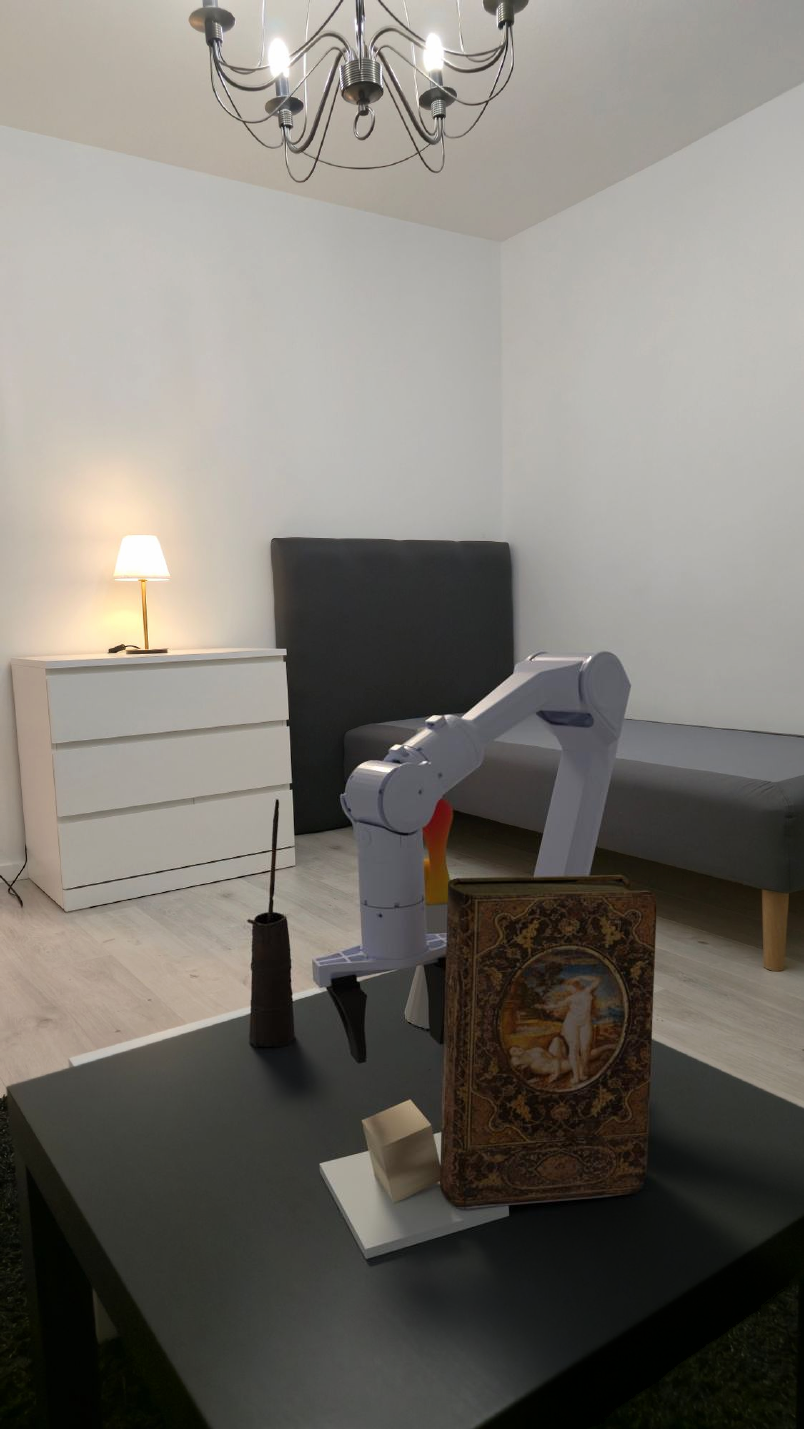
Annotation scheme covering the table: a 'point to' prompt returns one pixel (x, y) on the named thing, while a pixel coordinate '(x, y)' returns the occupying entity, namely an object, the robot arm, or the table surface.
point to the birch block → (402, 1150)
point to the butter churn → (271, 971)
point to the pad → (395, 1208)
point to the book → (546, 1039)
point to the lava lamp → (432, 902)
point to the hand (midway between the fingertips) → (399, 1048)
